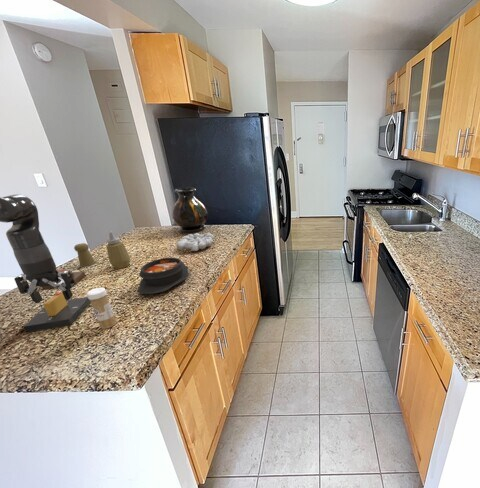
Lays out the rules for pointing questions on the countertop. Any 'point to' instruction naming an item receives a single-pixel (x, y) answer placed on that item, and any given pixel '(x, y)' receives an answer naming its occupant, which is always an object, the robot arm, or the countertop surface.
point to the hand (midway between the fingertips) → (54, 300)
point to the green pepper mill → (84, 255)
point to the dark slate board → (58, 316)
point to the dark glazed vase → (189, 211)
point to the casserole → (162, 275)
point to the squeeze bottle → (117, 252)
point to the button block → (76, 276)
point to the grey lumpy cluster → (195, 241)
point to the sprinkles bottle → (102, 307)
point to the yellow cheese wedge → (55, 304)
